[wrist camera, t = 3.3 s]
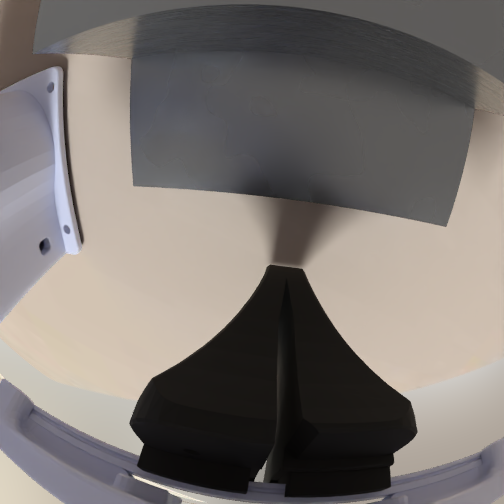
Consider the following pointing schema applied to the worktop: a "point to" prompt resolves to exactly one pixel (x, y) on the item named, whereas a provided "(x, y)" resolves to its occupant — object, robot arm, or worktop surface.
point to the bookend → (298, 93)
